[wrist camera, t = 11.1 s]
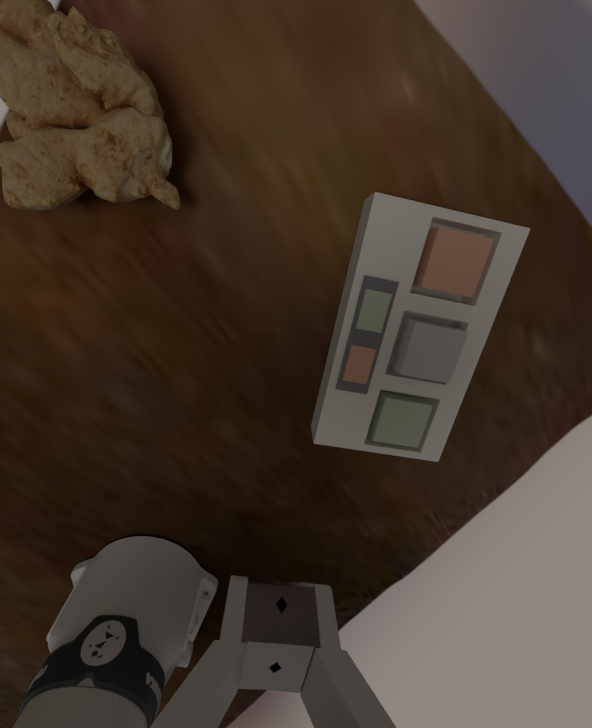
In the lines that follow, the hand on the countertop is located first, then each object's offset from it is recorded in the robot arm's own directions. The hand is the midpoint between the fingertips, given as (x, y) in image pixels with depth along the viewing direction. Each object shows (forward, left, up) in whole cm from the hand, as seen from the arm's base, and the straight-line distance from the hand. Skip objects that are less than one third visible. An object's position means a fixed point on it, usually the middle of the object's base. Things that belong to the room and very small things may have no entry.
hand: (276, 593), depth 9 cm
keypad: (+4, -12, -25) cm, 28 cm away
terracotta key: (+12, -14, -23) cm, 29 cm away
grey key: (+4, -14, -22) cm, 26 cm away
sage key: (-4, -13, -23) cm, 27 cm away
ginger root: (+16, +18, -26) cm, 35 cm away
